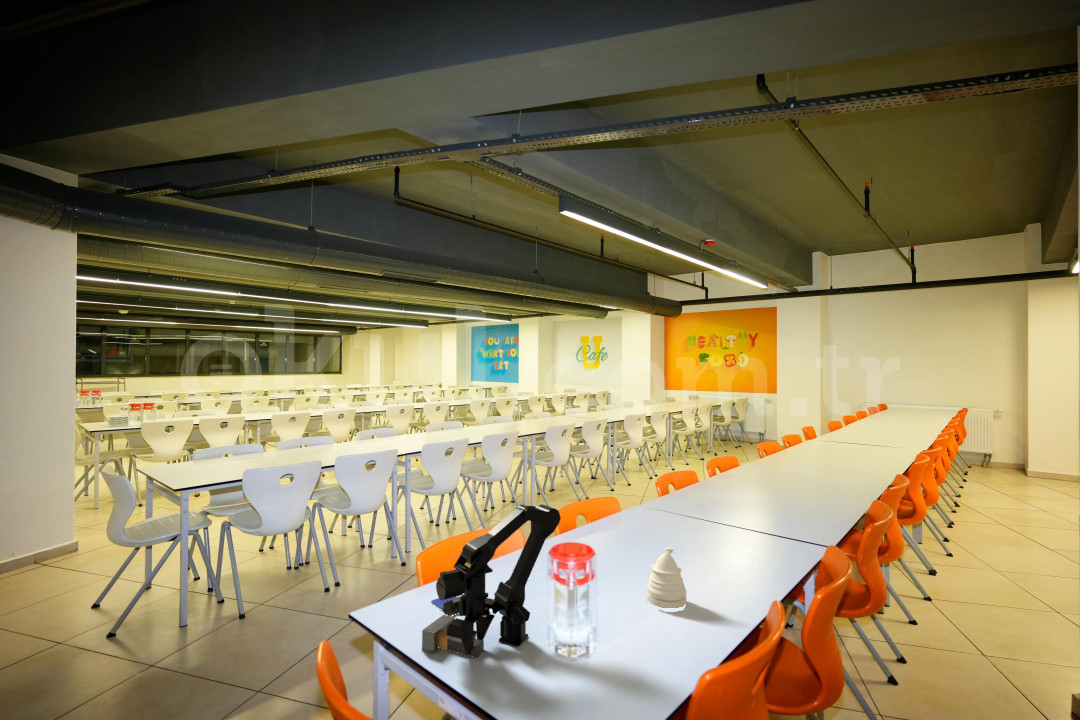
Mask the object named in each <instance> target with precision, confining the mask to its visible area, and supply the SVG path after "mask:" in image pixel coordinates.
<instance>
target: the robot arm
mask: <svg viewBox="0 0 1080 720" xmlns="http://www.w3.org/2000/svg"><path fill="white" fill-rule="evenodd" d="M528 521H529V522H530V533H529V535H528V537H527V539H526V541H525V543H524V546H523V548H522V550H521V553H520V555H519V557H518V560H517V561H516V564H515V565H514V568H513V570H512V572H511V575H510V577H509V579H507V580H506V581H505V582H504V581H500V582H499V584H498V586H497V588H496V591H495V592H494V593H493V596H494V599H493V598H489V592H486V574H489V573H493V571H494V570H493V569H492V568H491V567H490V566H489V562H490V561H491V559H493V557H494V556H495V553H496V550H497V549H498V548H499V547H500V546H501V545H502V544H503V543H504V542H506V541H507V540H508V538H510V537H511V536H512V535H513V534H514V533H516V532H517V531H518V530H519V529H520V528H521V527H523V526H524V525H525V524H526V523H527V522H528ZM560 522H561V513H560V512H559V510H558V509H557V508H554V507H551V506H548V505H546V504H542V503H541V504H538V505H536V506H533V505H526V504H518V505H517V506H516V507H515V508H514V510H512V511H511V512H510V513H509V514H508V515H506V517H504V518H503V519H502V520H501V521H500V522H499V523H497V524H496V525H495V526H494V527H492V528H491V529H490V530H489V531H488V532H486V533H485V534H483V535H480V536H476V537H475V538H473V539H471V540H470V541H468V542H466V543H465V544H464V546H463V547H462V551H461V554H460V555H459V557H458V558H457V560H456V562H455V564H454V565H453V568H454V569H452V570H447V571H441V572H440V573H439V576H438V578H437V581H436V583H435V588H436V594H437V597H438V598H439V599H440V600H445V599H449V598H453V597H456V598H453V599H451V600H450V601H446V602H444V605H443V611H442V613H443V615H447V616H450V615H452V614H457V613H459V614H458V616H460V617H464V618H463V619H461V618H456V617H455V620H454V621H453V622H451V623H450V624H449V625H448V626H447V631H446V634H447V635H448V636H452V637H455V638H459V639H461V640H462V643H463V646H464V649H465V652H466V654H467V655H470V654H471V651H472V648H473V644H474V641H475V638H476V639H480V640H483V641H485V640H484V639H485V637H486V634H487V633H488V631H489V629H490V627H491V624H492V622H493V620H494V618H495V616H496V614H497V613H498V612H499V614H500V615H502V616H501V621H500V622H499V626H500V627H499V630H500V631H499V636H500V637H499V638H498V642H500V643H503V644H508V645H511V646H516V647H519V646H521V645H522V644H523V643H524V642H525V640H526V639H527V638H528V637H529V634H528V633H526V632H527V631H526V629H527V623H526V622H528V621H529V620H530V616H531V612H530V611H529V610H528V609H527V608H526V607H525V606H524V603H525V600H526V585H527V582H528V580H529V579H530V577H531V576H530V575H532V574H531V573H532V571H533V569H534V568H535V565H536V562H537V559H538V557H539V555H540V553H541V550H543V549H542V548H543V546H544V544H545V542H546V539H547V538H549V537H550V536H551V535H552V534H553V533H554V532H555V531H556V529H557V527H558V526H559V524H560ZM466 564H468V565H469V566H468V565H466ZM490 610H492V611H490ZM491 612H492V613H491ZM474 627H475V628H474ZM475 629H476V630H475ZM467 655H466V656H467Z"/></svg>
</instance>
